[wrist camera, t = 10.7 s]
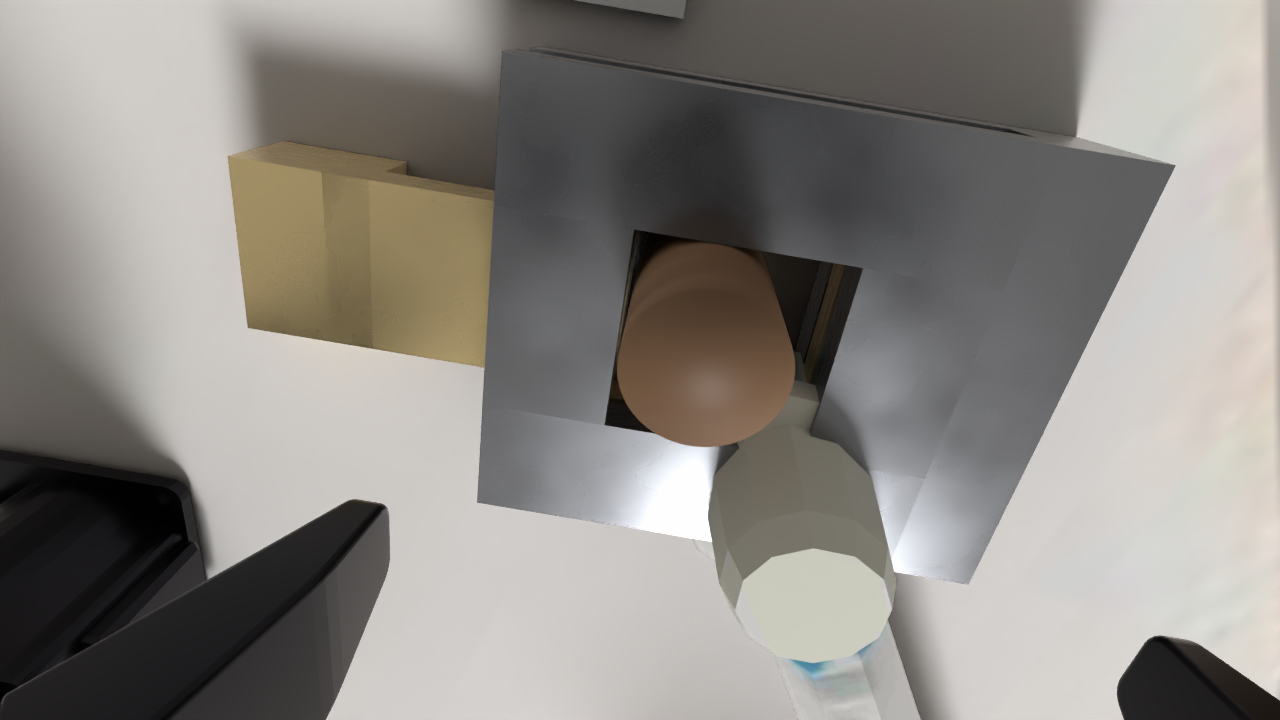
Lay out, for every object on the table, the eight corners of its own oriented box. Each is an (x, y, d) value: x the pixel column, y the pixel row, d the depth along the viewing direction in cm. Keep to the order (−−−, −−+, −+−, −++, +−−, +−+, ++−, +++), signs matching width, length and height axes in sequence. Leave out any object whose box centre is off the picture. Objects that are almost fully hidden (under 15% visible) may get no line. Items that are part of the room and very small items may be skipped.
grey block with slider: (303, 392, 19) (230, 461, 16) (271, 0, 15) (163, -6, 12) (925, 496, 19) (968, 584, 16) (1077, 137, 15) (1175, 165, 12)
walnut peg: (621, 289, 17) (589, 406, 12) (672, 181, 16) (662, 258, 11) (726, 336, 18) (741, 470, 12) (784, 235, 16) (829, 335, 11)
